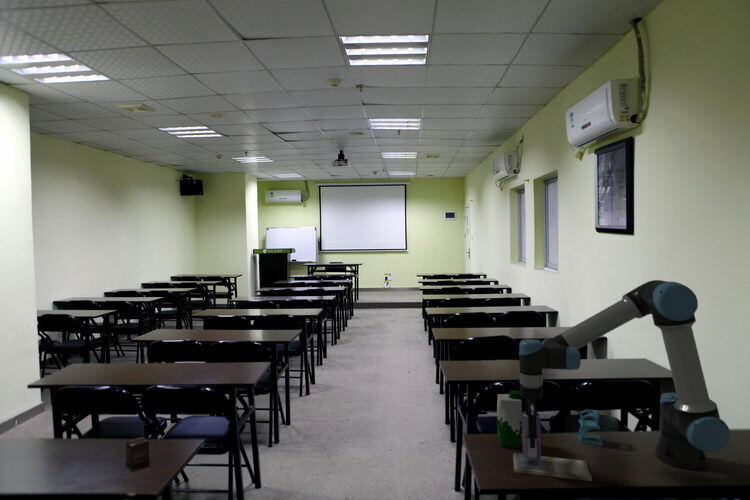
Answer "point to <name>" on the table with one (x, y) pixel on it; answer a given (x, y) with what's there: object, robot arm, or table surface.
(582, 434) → the chair
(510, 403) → the milk carton
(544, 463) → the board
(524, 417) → the beverage can
